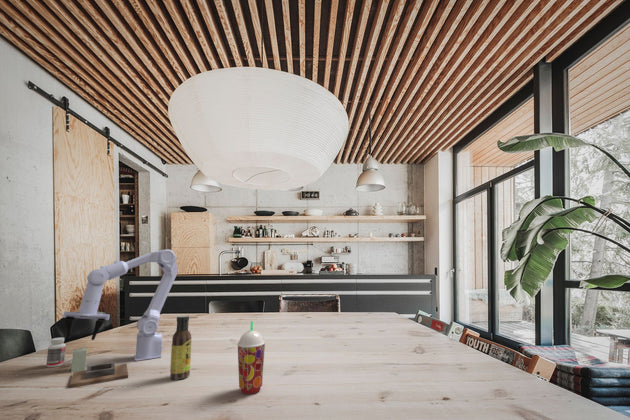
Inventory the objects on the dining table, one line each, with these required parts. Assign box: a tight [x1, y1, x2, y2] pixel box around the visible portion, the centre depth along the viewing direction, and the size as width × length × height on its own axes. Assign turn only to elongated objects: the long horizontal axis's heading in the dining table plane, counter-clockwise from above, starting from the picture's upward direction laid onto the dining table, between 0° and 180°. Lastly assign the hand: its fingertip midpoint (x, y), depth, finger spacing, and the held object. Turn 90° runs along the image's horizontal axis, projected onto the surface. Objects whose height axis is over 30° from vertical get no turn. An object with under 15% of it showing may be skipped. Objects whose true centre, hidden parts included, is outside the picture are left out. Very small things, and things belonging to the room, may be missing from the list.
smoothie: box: [236, 320, 266, 395], centre depth 100 cm, size 8×8×20 cm
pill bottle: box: [46, 337, 67, 368], centre depth 125 cm, size 5×5×10 cm
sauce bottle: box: [169, 314, 192, 380], centre depth 112 cm, size 6×6×20 cm
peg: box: [70, 347, 88, 373], centre depth 120 cm, size 4×4×7 cm
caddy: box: [68, 361, 129, 389], centre depth 112 cm, size 16×14×3 cm
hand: (80, 339), depth 121 cm, fingers open, 7 cm apart
